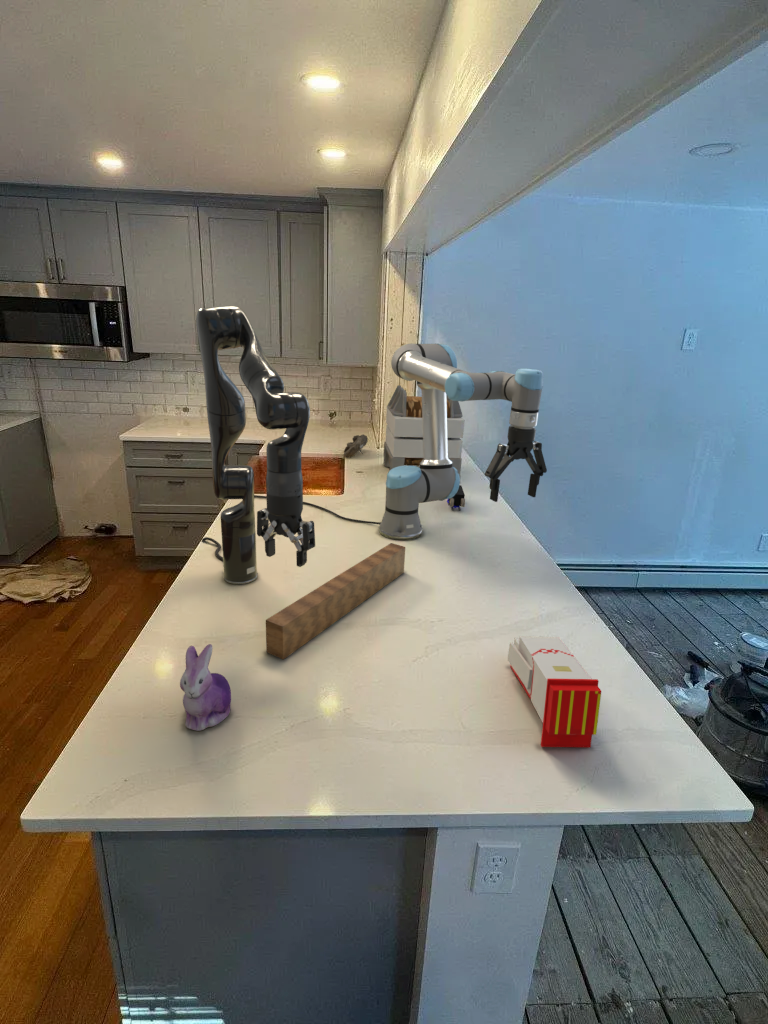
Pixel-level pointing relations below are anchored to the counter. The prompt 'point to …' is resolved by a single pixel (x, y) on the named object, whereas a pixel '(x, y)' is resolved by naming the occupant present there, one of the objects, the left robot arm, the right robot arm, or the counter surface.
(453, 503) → the figurine character
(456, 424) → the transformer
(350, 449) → the fossil
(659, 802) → the counter surface
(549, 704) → the toy
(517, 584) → the counter surface
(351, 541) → the counter surface
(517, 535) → the counter surface
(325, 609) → the post
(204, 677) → the figurine
